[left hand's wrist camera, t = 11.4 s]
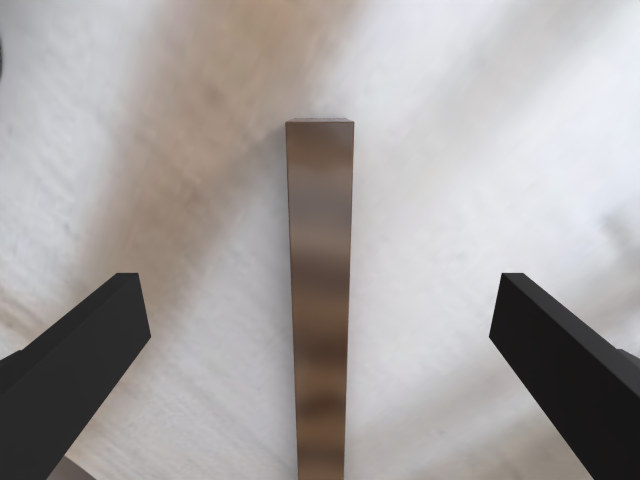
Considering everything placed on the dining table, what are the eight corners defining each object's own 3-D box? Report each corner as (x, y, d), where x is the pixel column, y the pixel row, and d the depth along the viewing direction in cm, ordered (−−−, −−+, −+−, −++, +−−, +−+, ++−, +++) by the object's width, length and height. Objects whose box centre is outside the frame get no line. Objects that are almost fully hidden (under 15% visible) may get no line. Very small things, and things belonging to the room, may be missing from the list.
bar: (293, 118, 33) (285, 121, 25) (346, 118, 33) (354, 121, 25) (305, 554, 57) (303, 624, 49) (336, 554, 57) (339, 624, 49)
